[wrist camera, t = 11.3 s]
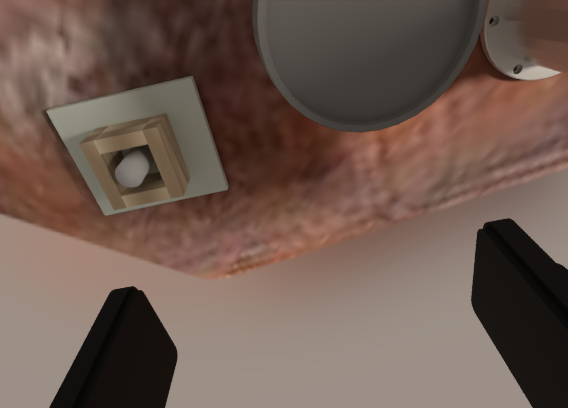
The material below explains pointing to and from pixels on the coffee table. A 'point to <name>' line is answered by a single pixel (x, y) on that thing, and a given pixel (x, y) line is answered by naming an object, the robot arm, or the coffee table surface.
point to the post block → (139, 160)
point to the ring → (152, 130)
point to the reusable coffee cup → (364, 55)
